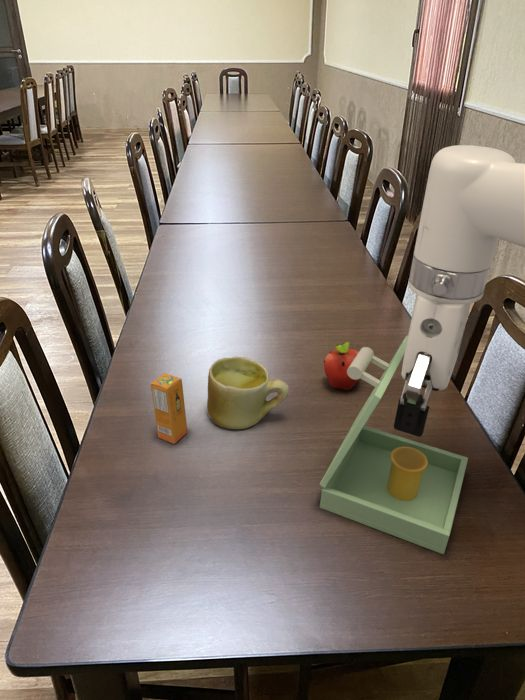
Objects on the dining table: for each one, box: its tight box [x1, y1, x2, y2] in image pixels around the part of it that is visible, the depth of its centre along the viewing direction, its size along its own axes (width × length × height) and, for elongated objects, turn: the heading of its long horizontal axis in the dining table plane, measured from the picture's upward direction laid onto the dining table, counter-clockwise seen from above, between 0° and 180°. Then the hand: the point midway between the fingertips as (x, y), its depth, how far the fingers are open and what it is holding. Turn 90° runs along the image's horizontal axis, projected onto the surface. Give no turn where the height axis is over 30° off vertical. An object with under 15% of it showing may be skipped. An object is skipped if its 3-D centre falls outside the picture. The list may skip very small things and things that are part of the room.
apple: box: [323, 341, 360, 391], centre depth 89 cm, size 8×7×10 cm
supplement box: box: [150, 373, 188, 445], centre depth 78 cm, size 3×3×10 cm
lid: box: [319, 334, 408, 488], centre depth 68 cm, size 16×15×5 cm
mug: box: [206, 356, 290, 430], centre depth 82 cm, size 12×10×10 cm
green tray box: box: [319, 425, 469, 555], centre depth 71 cm, size 16×15×3 cm
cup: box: [387, 447, 428, 501], centre depth 69 cm, size 5×5×5 cm
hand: (417, 408), depth 64 cm, fingers open, 9 cm apart
